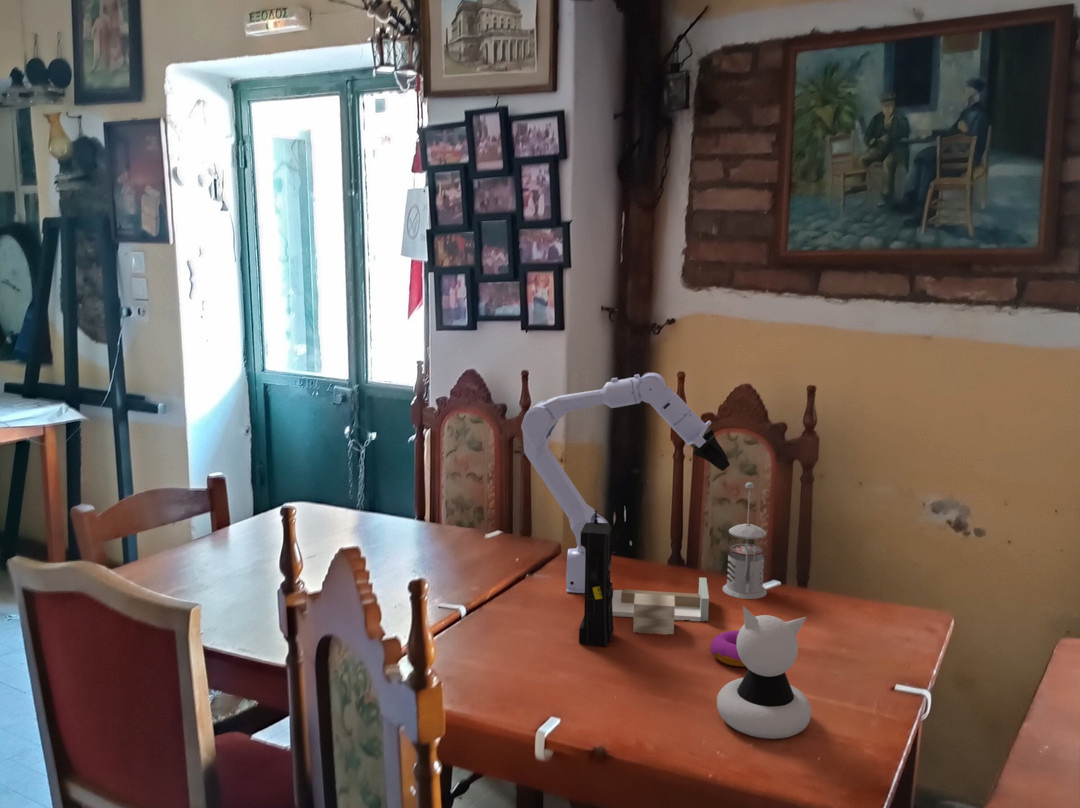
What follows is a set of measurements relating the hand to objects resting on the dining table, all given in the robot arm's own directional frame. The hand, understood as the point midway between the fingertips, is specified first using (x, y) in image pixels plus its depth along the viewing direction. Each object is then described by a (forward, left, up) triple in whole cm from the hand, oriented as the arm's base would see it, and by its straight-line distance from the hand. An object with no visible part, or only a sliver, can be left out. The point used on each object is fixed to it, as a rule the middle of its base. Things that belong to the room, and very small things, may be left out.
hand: (725, 464), depth 189 cm
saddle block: (-14, -17, -30) cm, 38 cm away
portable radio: (-25, -25, -30) cm, 47 cm away
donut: (+2, -29, -31) cm, 42 cm away
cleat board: (-13, -7, -30) cm, 34 cm away
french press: (+6, +5, -30) cm, 31 cm away
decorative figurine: (+4, -51, -30) cm, 59 cm away
